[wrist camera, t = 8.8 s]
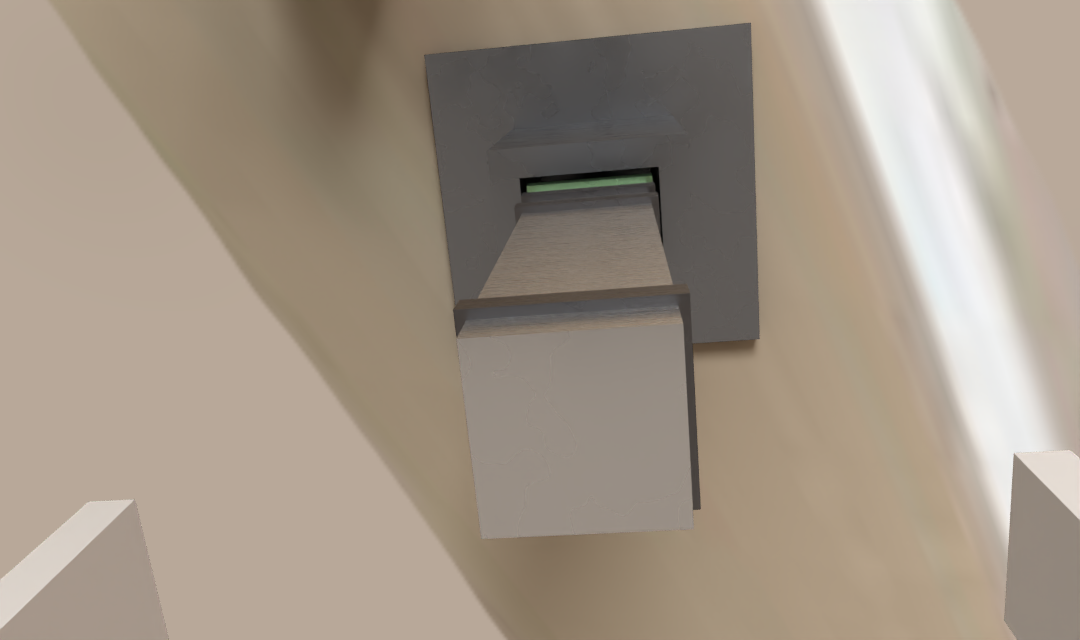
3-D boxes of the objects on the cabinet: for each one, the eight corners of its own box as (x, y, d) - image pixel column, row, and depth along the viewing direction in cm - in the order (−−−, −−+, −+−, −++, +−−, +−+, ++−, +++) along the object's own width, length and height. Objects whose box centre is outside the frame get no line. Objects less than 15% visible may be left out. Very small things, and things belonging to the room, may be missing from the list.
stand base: (428, 54, 47) (370, 57, 35) (747, 23, 45) (793, 15, 34) (464, 352, 51) (423, 439, 40) (756, 333, 50) (800, 418, 38)
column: (532, 177, 39) (442, 328, 18) (649, 167, 39) (695, 310, 18) (542, 289, 41) (471, 550, 20) (656, 281, 40) (706, 539, 19)
